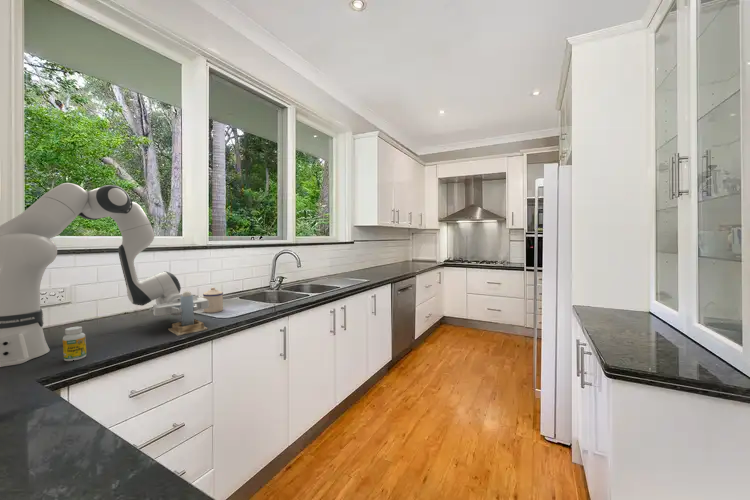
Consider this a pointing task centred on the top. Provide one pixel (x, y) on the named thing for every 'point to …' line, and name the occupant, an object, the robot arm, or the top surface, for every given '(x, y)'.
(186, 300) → the blue bottle
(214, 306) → the teacup with lid
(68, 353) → the supplement bottle
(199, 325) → the cradle jig
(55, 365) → the top surface
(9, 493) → the top surface
